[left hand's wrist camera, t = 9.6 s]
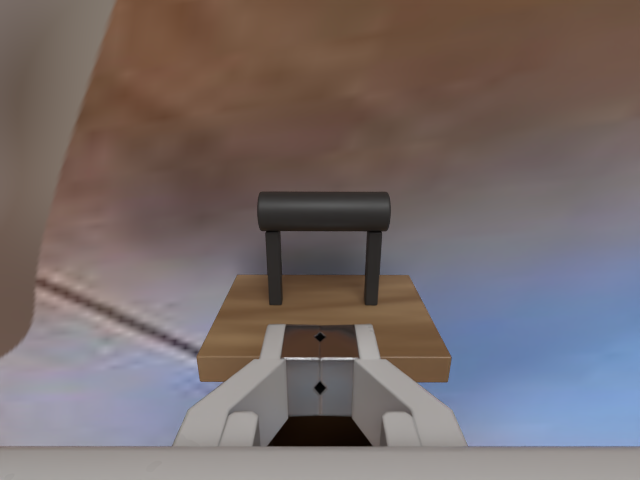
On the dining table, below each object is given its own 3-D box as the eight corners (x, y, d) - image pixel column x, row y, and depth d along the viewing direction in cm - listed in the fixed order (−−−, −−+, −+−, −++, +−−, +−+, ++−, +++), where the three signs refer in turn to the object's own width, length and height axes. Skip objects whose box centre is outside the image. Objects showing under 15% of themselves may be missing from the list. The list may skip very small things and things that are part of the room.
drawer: (228, 178, 18) (176, 219, 12) (418, 178, 18) (473, 220, 12) (257, 509, 27) (236, 642, 20) (386, 509, 27) (408, 642, 20)
